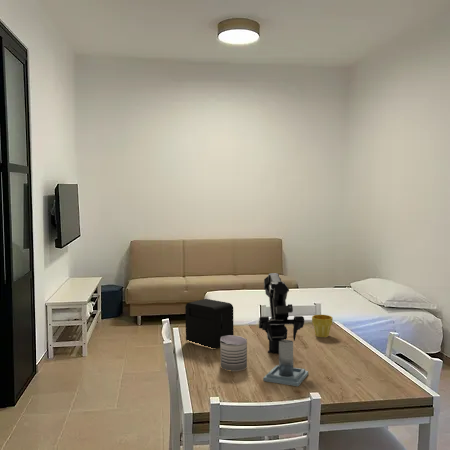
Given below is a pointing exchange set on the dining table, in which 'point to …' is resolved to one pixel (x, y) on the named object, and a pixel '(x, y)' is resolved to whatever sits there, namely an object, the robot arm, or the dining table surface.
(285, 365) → the grey shiny round cylinder
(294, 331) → the robot arm
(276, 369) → the plate
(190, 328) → the air purifier
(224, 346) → the can
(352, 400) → the dining table surface
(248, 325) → the dining table surface
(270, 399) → the dining table surface
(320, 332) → the plant pot
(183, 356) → the dining table surface
